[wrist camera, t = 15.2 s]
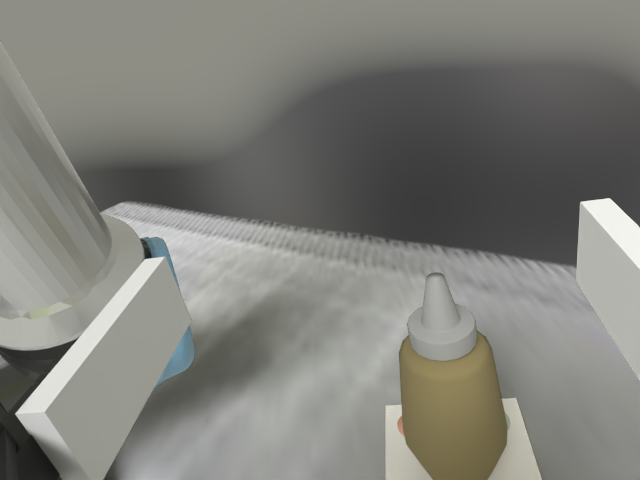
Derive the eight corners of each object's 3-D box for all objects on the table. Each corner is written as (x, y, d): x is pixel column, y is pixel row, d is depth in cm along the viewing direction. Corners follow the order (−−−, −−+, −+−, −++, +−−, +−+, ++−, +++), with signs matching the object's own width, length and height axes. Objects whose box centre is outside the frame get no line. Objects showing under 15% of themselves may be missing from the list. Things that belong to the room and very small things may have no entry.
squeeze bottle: (477, 408, 43) (462, 236, 35) (531, 484, 36) (528, 289, 28) (394, 436, 42) (360, 267, 34) (432, 520, 35) (400, 330, 27)
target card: (386, 535, 35) (385, 529, 35) (386, 409, 46) (385, 404, 46) (557, 535, 33) (557, 528, 33) (516, 402, 43) (516, 396, 43)
